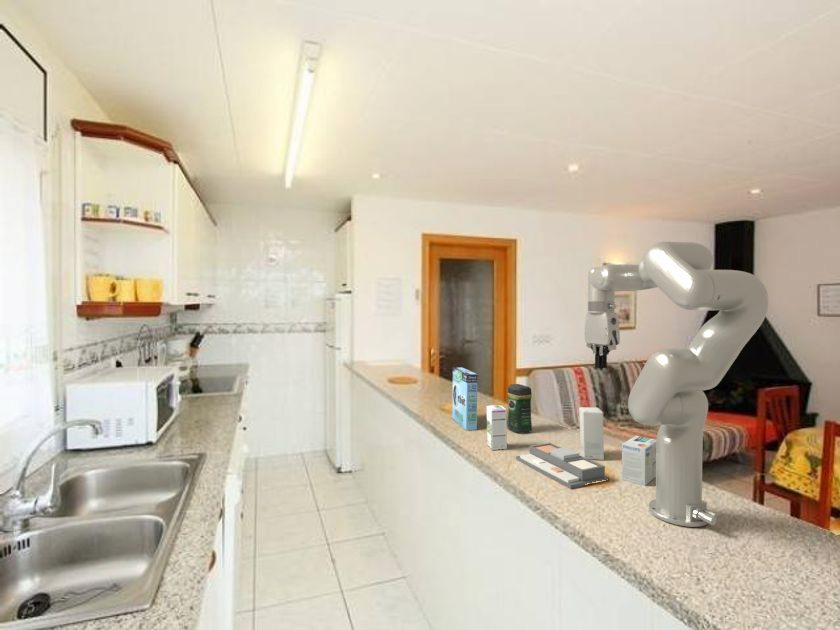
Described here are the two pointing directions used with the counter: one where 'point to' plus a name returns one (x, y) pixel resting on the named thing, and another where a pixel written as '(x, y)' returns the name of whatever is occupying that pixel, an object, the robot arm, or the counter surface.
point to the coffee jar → (519, 408)
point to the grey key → (564, 453)
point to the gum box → (464, 398)
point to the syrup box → (496, 427)
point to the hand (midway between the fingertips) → (600, 367)
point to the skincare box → (591, 433)
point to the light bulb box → (639, 460)
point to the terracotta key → (546, 448)
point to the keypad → (562, 468)
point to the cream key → (582, 464)
